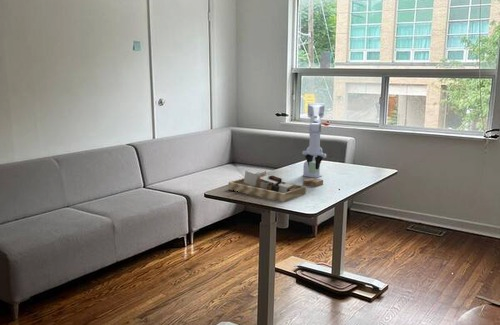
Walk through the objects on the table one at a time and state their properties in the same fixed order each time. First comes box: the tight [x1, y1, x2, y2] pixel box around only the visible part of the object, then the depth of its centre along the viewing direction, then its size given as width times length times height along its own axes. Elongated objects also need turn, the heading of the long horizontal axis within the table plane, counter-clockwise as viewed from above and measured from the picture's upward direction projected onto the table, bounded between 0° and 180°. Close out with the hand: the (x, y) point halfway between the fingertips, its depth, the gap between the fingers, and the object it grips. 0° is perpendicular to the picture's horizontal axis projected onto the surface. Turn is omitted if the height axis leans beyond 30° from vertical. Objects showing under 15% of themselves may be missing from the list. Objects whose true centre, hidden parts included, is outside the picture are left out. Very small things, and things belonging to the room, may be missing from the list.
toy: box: [244, 170, 298, 193], centre depth 252 cm, size 12×10×30 cm
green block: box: [309, 161, 319, 174], centre depth 267 cm, size 4×4×6 cm
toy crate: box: [228, 178, 307, 203], centre depth 252 cm, size 36×20×4 cm, turn 51°
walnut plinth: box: [302, 177, 324, 188], centre depth 269 cm, size 8×8×3 cm
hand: (313, 168), depth 267 cm, fingers closed on green block, 4 cm apart
